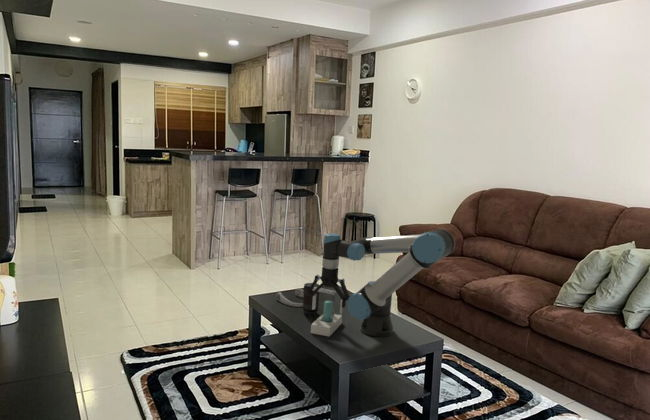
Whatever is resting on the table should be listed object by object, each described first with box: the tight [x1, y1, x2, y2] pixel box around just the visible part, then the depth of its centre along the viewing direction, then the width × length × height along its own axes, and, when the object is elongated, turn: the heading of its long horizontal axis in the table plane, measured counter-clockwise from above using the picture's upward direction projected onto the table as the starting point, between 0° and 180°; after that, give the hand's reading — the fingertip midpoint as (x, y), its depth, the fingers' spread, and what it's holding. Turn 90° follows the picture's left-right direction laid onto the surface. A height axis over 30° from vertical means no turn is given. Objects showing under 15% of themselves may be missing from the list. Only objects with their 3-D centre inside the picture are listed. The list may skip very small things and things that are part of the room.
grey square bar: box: [313, 287, 337, 296], centre depth 240 cm, size 2×13×2 cm, turn 64°
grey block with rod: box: [310, 294, 343, 337], centre depth 232 cm, size 9×18×14 cm, turn 161°
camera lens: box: [302, 282, 321, 317], centre depth 251 cm, size 8×8×15 cm
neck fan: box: [276, 287, 304, 308], centre depth 269 cm, size 18×17×5 cm
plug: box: [322, 300, 333, 323], centre depth 232 cm, size 5×5×11 cm
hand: (327, 311), depth 232 cm, fingers open, 13 cm apart
